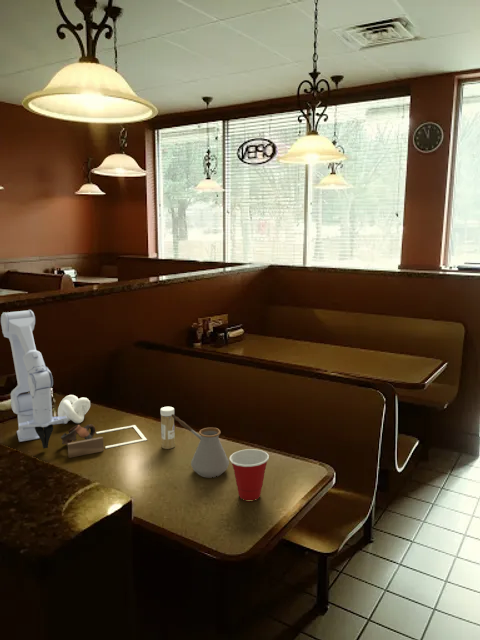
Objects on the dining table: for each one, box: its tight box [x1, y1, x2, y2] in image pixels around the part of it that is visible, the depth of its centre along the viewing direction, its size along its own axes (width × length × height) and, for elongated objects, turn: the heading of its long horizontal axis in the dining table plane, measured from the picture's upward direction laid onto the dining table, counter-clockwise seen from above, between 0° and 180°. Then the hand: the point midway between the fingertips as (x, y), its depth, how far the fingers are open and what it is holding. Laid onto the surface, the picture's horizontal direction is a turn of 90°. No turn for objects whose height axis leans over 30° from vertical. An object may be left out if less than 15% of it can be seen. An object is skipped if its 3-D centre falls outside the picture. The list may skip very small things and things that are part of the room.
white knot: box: [57, 394, 91, 424], centre depth 195 cm, size 11×12×9 cm
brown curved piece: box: [60, 423, 96, 446], centre depth 174 cm, size 12×10×8 cm
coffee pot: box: [169, 414, 230, 478], centre depth 158 cm, size 21×12×15 cm, turn 55°
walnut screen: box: [67, 436, 105, 459], centre depth 168 cm, size 1×11×4 cm, turn 118°
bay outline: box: [95, 424, 148, 449], centre depth 181 cm, size 14×14×1 cm
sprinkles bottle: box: [160, 406, 176, 450], centre depth 172 cm, size 5×5×14 cm
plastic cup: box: [228, 448, 270, 501], centre depth 142 cm, size 11×11×12 cm
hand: (45, 447), depth 170 cm, fingers closed
